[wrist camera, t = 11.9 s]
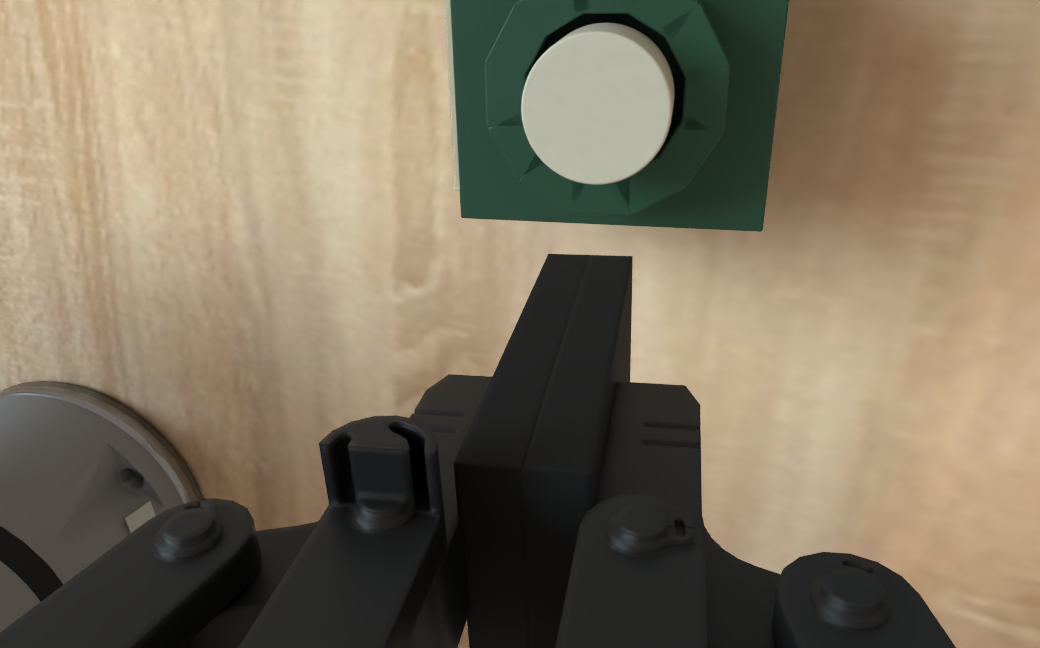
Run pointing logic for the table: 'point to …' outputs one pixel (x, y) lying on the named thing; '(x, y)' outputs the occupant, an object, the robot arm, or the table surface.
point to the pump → (599, 103)
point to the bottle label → (452, 94)
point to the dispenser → (694, 124)
